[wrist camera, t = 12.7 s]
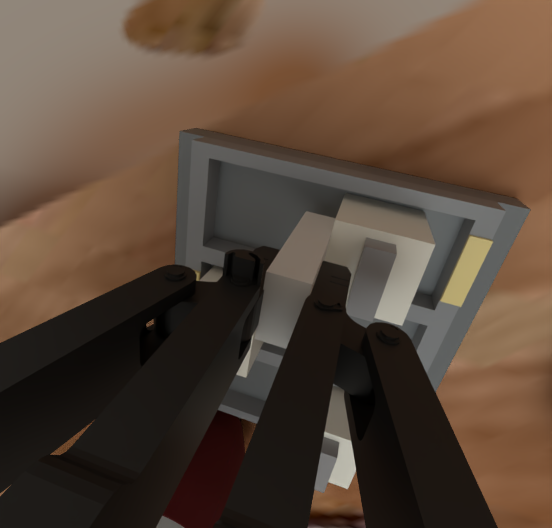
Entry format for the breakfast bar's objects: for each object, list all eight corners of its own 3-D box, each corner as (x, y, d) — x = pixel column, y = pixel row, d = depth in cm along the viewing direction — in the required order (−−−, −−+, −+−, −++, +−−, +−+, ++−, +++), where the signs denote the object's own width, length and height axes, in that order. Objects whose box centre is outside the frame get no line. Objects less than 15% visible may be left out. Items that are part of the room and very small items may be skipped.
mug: (155, 363, 31) (66, 472, 22) (240, 360, 28) (175, 485, 19) (197, 449, 35) (135, 570, 26) (274, 454, 32) (233, 592, 23)
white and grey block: (327, 260, 20) (310, 312, 16) (345, 192, 19) (331, 227, 14) (398, 279, 20) (403, 339, 15) (424, 211, 18) (438, 254, 13)
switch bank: (183, 359, 30) (158, 391, 27) (196, 127, 21) (163, 134, 18) (401, 432, 27) (403, 478, 24) (516, 198, 18) (544, 220, 15)
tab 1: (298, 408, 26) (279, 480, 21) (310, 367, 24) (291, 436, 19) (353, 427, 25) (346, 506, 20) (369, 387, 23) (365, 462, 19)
